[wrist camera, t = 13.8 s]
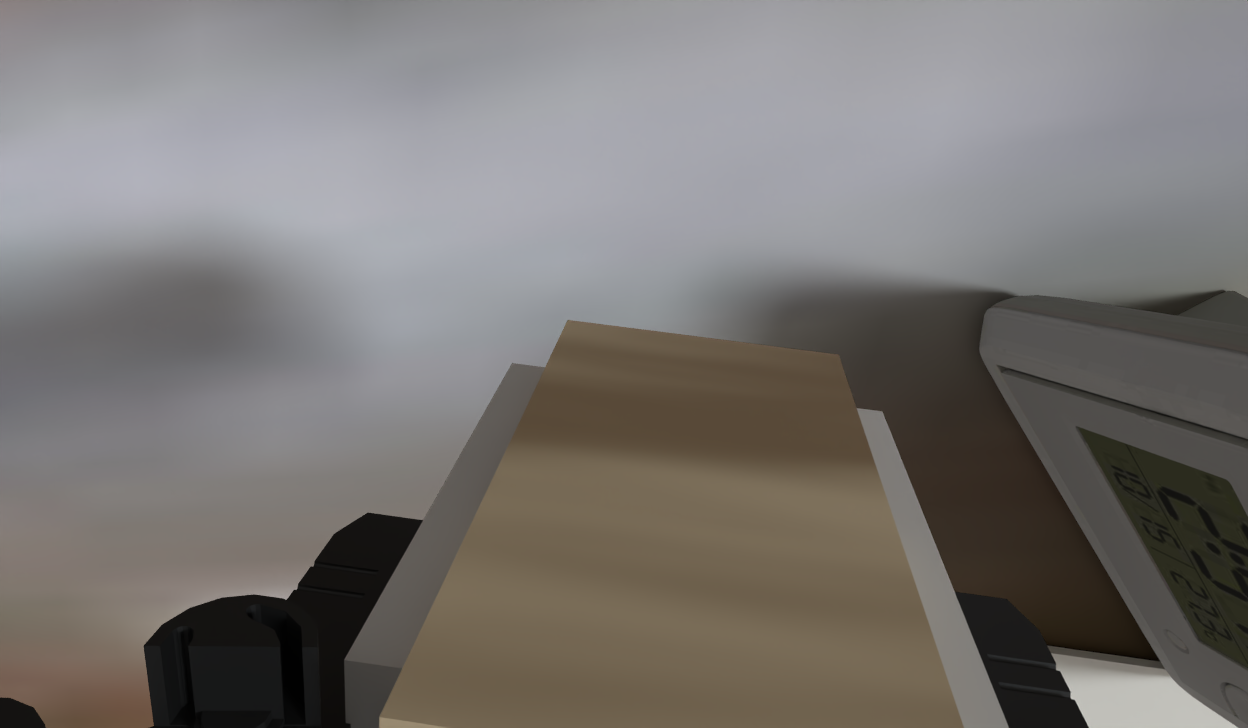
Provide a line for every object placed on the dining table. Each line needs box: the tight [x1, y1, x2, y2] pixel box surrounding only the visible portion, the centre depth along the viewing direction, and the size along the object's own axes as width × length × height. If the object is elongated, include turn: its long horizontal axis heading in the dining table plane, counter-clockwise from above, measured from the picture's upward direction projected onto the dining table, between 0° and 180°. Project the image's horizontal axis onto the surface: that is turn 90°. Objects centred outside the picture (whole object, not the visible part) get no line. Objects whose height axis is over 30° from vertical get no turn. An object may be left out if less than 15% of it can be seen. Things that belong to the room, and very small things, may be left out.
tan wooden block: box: [379, 320, 964, 728], centre depth 10 cm, size 4×4×9 cm
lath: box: [1048, 646, 1238, 728], centre depth 32 cm, size 4×36×1 cm, turn 84°
